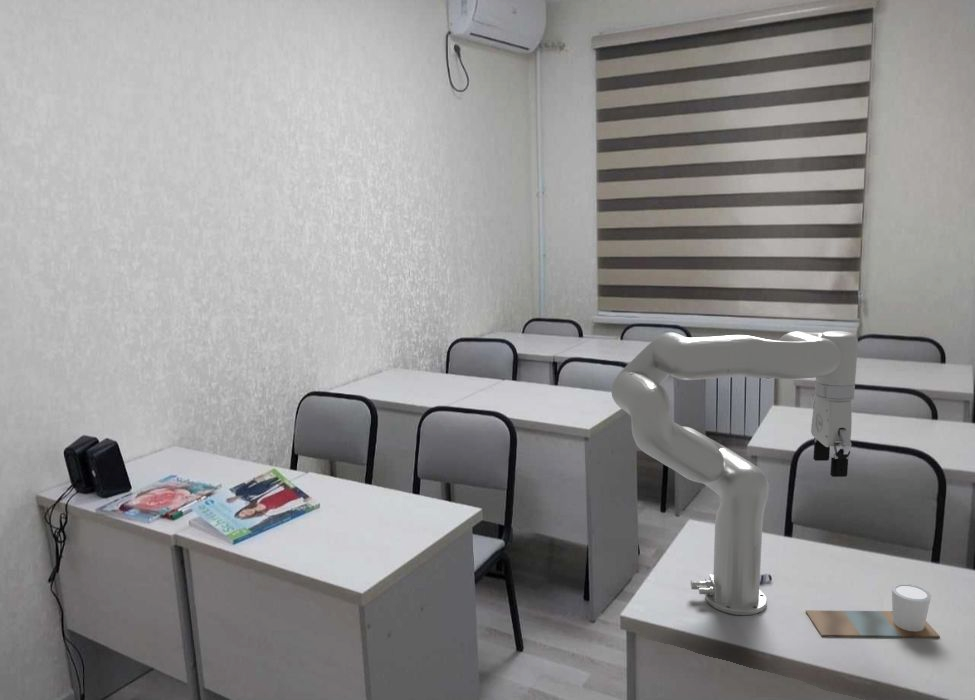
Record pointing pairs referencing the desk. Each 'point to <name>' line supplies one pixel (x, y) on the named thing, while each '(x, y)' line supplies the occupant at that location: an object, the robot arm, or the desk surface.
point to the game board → (863, 625)
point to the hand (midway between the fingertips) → (829, 467)
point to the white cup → (910, 606)
